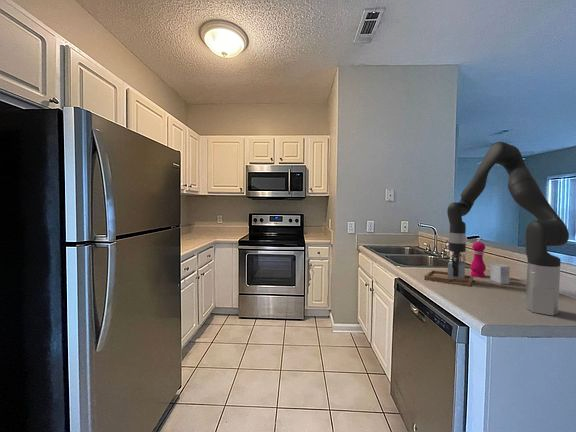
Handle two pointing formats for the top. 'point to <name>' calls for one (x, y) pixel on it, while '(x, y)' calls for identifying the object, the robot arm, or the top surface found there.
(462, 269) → the panel block
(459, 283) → the wooden serving tray
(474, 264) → the pepper mill
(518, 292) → the top surface
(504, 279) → the medicine box
